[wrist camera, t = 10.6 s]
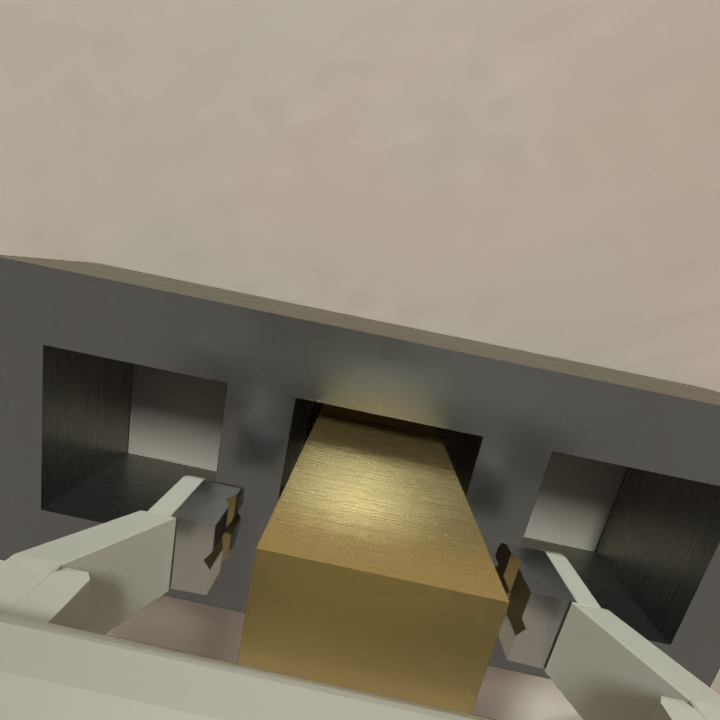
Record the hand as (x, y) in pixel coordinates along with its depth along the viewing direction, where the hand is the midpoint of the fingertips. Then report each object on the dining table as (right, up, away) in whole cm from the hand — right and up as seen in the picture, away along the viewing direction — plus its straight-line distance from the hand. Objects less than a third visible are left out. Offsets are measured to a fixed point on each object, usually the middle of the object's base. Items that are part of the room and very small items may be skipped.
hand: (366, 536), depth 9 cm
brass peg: (0, +1, +6) cm, 6 cm away
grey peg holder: (0, +1, +5) cm, 6 cm away
